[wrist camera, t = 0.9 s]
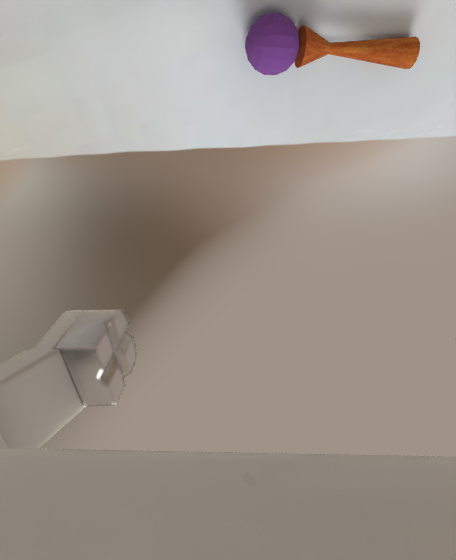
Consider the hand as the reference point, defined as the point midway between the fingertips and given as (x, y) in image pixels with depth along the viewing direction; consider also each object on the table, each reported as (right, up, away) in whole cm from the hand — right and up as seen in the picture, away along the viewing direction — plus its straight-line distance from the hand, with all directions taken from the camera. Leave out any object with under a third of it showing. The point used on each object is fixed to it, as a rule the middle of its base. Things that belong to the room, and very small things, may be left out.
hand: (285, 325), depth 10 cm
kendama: (+10, +30, +37) cm, 48 cm away
